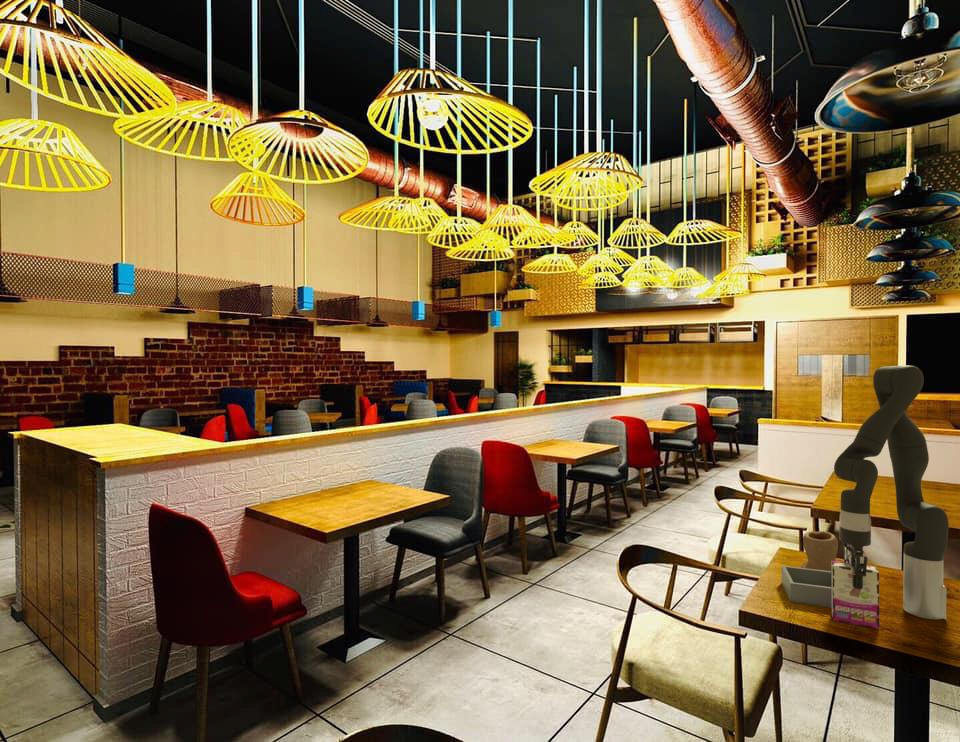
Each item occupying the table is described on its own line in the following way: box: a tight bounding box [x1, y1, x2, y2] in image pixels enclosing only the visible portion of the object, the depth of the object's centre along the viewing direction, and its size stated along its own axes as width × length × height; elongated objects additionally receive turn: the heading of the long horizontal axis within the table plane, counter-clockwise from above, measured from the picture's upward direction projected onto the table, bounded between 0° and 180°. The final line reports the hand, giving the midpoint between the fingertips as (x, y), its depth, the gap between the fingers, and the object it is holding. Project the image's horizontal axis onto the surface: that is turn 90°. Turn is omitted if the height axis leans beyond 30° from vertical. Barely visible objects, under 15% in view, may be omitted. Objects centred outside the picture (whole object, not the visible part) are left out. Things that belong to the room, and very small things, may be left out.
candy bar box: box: [831, 560, 880, 630], centre depth 155 cm, size 11×5×16 cm, turn 62°
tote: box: [781, 565, 832, 609], centre depth 172 cm, size 16×16×6 cm
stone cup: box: [800, 530, 839, 571], centre depth 190 cm, size 15×12×15 cm
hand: (854, 584), depth 155 cm, fingers closed on candy bar box, 5 cm apart
